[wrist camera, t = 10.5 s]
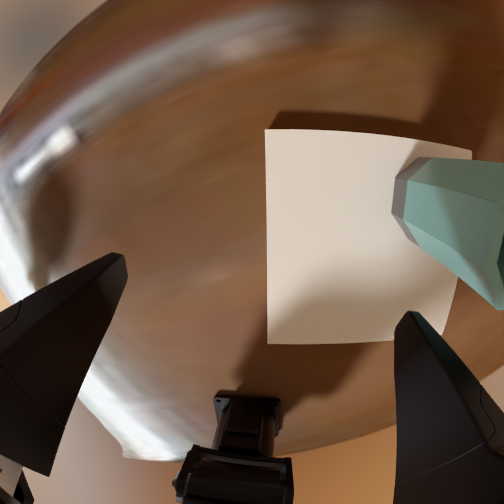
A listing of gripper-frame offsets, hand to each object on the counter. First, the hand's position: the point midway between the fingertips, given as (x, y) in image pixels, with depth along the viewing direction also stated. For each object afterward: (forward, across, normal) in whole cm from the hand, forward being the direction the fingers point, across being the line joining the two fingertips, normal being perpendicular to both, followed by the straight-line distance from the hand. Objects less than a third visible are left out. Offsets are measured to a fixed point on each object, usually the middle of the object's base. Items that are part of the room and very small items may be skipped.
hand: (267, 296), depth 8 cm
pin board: (+11, -7, +4) cm, 14 cm away
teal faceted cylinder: (+10, -10, -1) cm, 15 cm away
